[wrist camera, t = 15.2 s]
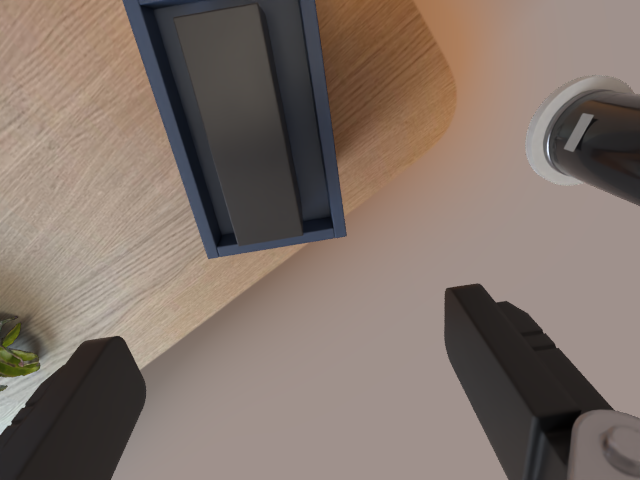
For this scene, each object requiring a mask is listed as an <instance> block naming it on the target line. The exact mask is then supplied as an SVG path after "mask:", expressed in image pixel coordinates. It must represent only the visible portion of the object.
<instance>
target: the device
mask: <svg viewBox="0 0 640 480" xmlns="http://www.w3.org/2000/svg"><path fill="white" fill-rule="evenodd" d="M173 21H174V25H175V28H176V32H177V35H178V39H179V42H180V46H181V49H182V53H183V56H184V60H185V63H186V67H187V70H188V73H189V77H190V80H191V84H192V87H193V91H194V94H195V98H196V101H197V105H198V108H199V112H200V115H201V119H202V122H203V126H204V129H205V133H206V136H207V140H208V143H209V147H210V150H211V154H212V157H213V161H214V164H215V168H216V171H217V174H218V178H219V181H220V185H221V188H222V192H223V195H224V199H225V202H226V206H227V209H228V213H229V216H230V220H231V223H232V227H233V230H234V234H235V237H236V241H237V244H238V246H244V245H250V244H256V243H262V242H268V241H274V240H280V239H286V238H292V237H298V236H303V216H302V205H301V200H300V194H299V189H298V184H297V179H296V173H295V168H294V163H293V157H292V152H291V147H290V142H289V136H288V131H287V126H286V121H285V115H284V110H283V105H282V99H281V94H280V89H279V84H278V78H277V73H276V68H275V63H274V57H273V52H272V47H271V41H270V36H269V31H268V26H267V20H266V15H265V13H264V11H263V10H262V8H261V7H260V5H259V4H258V3H251V4H246V5H240V6H234V7H228V8H223V9H217V10H211V11H206V12H200V13H194V14H189V15H183V16H177V17H174V18H173Z"/></svg>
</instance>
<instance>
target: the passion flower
mask: <svg viewBox="0 0 640 480" xmlns="http://www.w3.org/2000/svg"><path fill="white" fill-rule="evenodd" d="M16 318H18V317H17V316H15V317H13V318H9V319H6V320H3V321H0V331H1V329H2V326H3V325H4V324H5V323H7V322H8V321H10V320H13V319H16ZM20 328H21V323H18V324H16V326H15V327H14V328H13V329H12V330H11V331H10V332H9V333H8V334H7V335H6V336H4V337H3V338H0V377H16V376H20V375H23V376H25V375H27V374H30V373H33V372H35V371H37V370H39V369H40V363H39V357H38V355H36V354H34V353H32V352H26V351H21V350H16V349H12V348H7V346H9V345H10V344H12V343H13V342H14V340H15V339H16V338H17V336H18V335H19V333H20ZM7 387H8V386H7V385H6V386H4V385H0V391H3V390H4V389H6V388H7Z"/></svg>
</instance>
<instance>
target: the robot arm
mask: <svg viewBox="0 0 640 480" xmlns="http://www.w3.org/2000/svg"><path fill="white" fill-rule="evenodd" d="M543 151H544V156H545V159H546V161H547V163H548V164H549V165H550V166H551V168H553V169H554V170H555V171H557V172H559V173H561V174H564V175H566V176H571V177H573V178H575V179H578V180H580V181H582V182H584V183H587V184H589V185H591V186H594V187H596V188H598V189H601V190H603V191H605V192H608V193H610V194H612V195H615V196H617V197H620V198H622V199H624V200H627V201H629V202H632V203H634V204H636V205H638V206H640V94H633V93H624V92H616V91H612V90H605V89H593V90H588V91H585V92H582V93H580V94H578V95H576V96H574V97H573V98H571V99H570V100H568V101H567V102H566V103H565V104H563V105H562V106H561V107H560V108H559V110H558V111H557V112H556V113H555V115H554V116H553V117H552V119H551V121H550V122H549V124H548V127H547V129H546V132H545V135H544V141H543ZM444 337H445V346H446V350H447V354H448V357H449V360H450V362H451V364H452V367H453V369H454V371H455V373H456V375H457V377H458V379H459V381H460V382H461V385H462V387H463V389H464V391H465V393H466V395H467V397H468V399H469V401H470V403H471V405H472V407H473V409H474V411H475V413H476V415H477V417H478V419H479V421H480V423H481V425H482V427H483V429H484V431H485V433H486V435H487V437H488V439H489V441H490V443H491V445H492V447H493V449H494V451H495V453H496V456H497V457H498V460H499V462H500V464H501V465H502V468H503V470H504V472H505V474H506V475H507V478H508V479H509V480H640V419H639V418H637V417H635V416H632V415H629V414H626V413H623V412H619V411H615V410H614V409H613V408H612V407H611V406H610V405H609V404H608V403H607V402H606V401H605V399H604V398H603V397H602V396H601V395H600V394H599V393H598V392H597V390H596V389H595V388H594V387H593V386H592V385H591V384H590V383H589V382H588V381H587V379H586V378H585V377H584V376H583V375H582V374H581V373H580V371H578V369H577V368H576V367H575V366H574V365H573V364H572V363H571V361H570V360H569V359H568V358H567V357H566V356H565V355H564V354H563V352H562V351H561V350H560V349H559V348H556V346H555V344H554V342H553V341H552V340H551V339H550V338H549V337H548V336H547V335H546V333H545V334H544V333H543V330H542V329H541V328H540V327H539V326H538V324H537V323H536V322H535V321H534V320H533V319H532V318H531V317H530V316H529V314H528V313H526V312H524V311H522V310H521V309H519V308H517V307H516V306H514V305H512V304H511V303H509V302H507V301H504V302H497V303H496V302H495V301H494V300H493V299H492V297H491V296H490V295H489V294H488V292H487V291H486V290H485V289H484V288H483V286H482V285H480V284H471V285H464V286H457V287H452V288H447V289H446V291H445V331H444ZM145 399H146V386H145V381H144V379H143V376H142V374H141V372H140V370H139V368H138V366H137V364H136V362H135V360H134V358H133V356H132V354H131V352H130V350H129V348H128V346H127V344H126V342H125V340H124V339H123V338H121V337H120V336H114V337H107V338H100V339H93V340H87V341H84V342H83V343H82V344H81V345H80V346H79V347H78V348H77V350H76V351H75V352H74V354H73V355H72V356H71V358H70V359H69V360H68V361H67V363H66V364H65V365H63V366H62V367H61V368H59V369H58V370H57V371H56V372H55V373H53V374H52V375H51V376H50V377H49V378H47V379H46V380H45V381H44V382H43V383H41V385H40V386H39V387H38V388H37V390H36V391H35V392H34V393H33V395H32V396H31V397H30V399H29V400H28V401H27V402H26V404H25V405H26V406H25V408H22V409H21V410H20V411H19V412H18V414H17V415H16V416H15V417H14V419H13V420H12V421H11V422H12V424H11V426H7V427H6V429H5V430H4V431H3V432H2V434H1V435H0V480H111V478H112V476H113V473H114V471H115V469H116V467H117V464H118V462H119V460H120V458H121V456H122V453H123V451H124V449H125V447H126V444H127V442H128V440H129V438H130V435H131V433H132V431H133V429H134V427H135V424H136V422H137V420H138V418H139V415H140V413H141V411H142V409H143V406H144V403H145Z"/></svg>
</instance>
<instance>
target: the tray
mask: <svg viewBox="0 0 640 480" xmlns="http://www.w3.org/2000/svg"><path fill="white" fill-rule="evenodd" d="M123 3H124V6H125V9H126V12H127V15H128V19H129V22H130V25H131V28H132V31H133V34H134V37H135V40H136V43H137V46H138V49H139V52H140V55H141V58H142V61H143V64H144V67H145V70H146V73H147V76H148V79H149V82H150V85H151V88H152V91H153V94H154V97H155V100H156V103H157V106H158V109H159V112H160V115H161V118H162V121H163V124H164V127H165V130H166V133H167V136H168V139H169V142H170V145H171V148H172V151H173V154H174V157H175V160H176V163H177V166H178V169H179V172H180V175H181V178H182V181H183V184H184V187H185V190H186V193H187V196H188V199H189V202H190V205H191V208H192V211H193V214H194V218H195V221H196V224H197V227H198V230H199V233H200V236H201V239H202V242H203V245H204V248H205V251H206V254H207V257H208V259H211V258H217V257H219V256H220V257H223V256H229V255H235V254H241V253H247V252H253V251H260V250H266V249H272V248H278V247H284V246H290V245H296V244H302V243H308V242H314V241H320V240H326V239H332V238H339V237H345V236H346V235H347V234H346V227H345V219H344V212H343V205H342V197H341V190H340V182H339V175H338V167H337V160H336V153H335V145H334V138H333V130H332V123H331V115H330V108H329V100H328V93H327V86H326V78H325V71H324V63H323V56H322V48H321V41H320V34H319V26H318V19H317V11H316V4H315V0H123ZM251 3H258V4H259V5H260V7H261V8H262V10H263V11H264V13H265V15H266V20H267V26H268V31H269V36H270V41H271V47H272V52H273V57H274V63H275V68H276V73H277V78H278V84H279V89H280V94H281V99H282V105H283V110H284V115H285V121H286V126H287V131H288V136H289V142H290V147H291V152H292V157H293V163H294V168H295V173H296V179H297V184H298V189H299V194H300V200H301V205H302V216H303V236H298V237H292V238H286V239H280V240H274V241H268V242H262V243H256V244H250V245H244V246H238V244H237V241H236V237H235V234H234V230H233V227H232V223H231V220H230V216H229V213H228V209H227V206H226V202H225V199H224V195H223V192H222V188H221V185H220V181H219V178H218V174H217V171H216V168H215V164H214V161H213V157H212V154H211V150H210V147H209V143H208V140H207V136H206V133H205V129H204V126H203V122H202V119H201V115H200V112H199V108H198V105H197V101H196V98H195V94H194V91H193V87H192V84H191V80H190V77H189V73H188V70H187V67H186V63H185V60H184V56H183V53H182V49H181V46H180V42H179V39H178V35H177V32H176V28H175V25H174V21H173V18H174V17H177V16H183V15H189V14H194V13H200V12H206V11H211V10H217V9H223V8H228V7H234V6H240V5H246V4H251Z"/></svg>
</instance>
